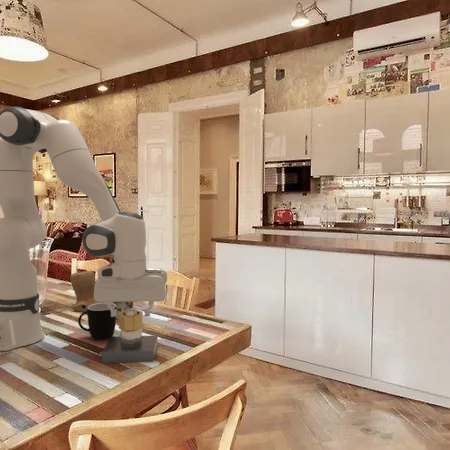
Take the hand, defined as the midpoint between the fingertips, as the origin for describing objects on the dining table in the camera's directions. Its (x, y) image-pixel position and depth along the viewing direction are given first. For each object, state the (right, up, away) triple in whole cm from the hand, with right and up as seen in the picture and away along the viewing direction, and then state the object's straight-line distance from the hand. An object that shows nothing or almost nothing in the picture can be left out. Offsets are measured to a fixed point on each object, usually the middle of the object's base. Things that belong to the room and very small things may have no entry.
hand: (130, 316), depth 113 cm
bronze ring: (0, -3, 0) cm, 3 cm away
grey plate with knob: (0, -11, +1) cm, 11 cm away
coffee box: (-12, -9, +36) cm, 39 cm away
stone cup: (-30, -8, +47) cm, 56 cm away
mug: (-14, -10, +14) cm, 22 cm away
